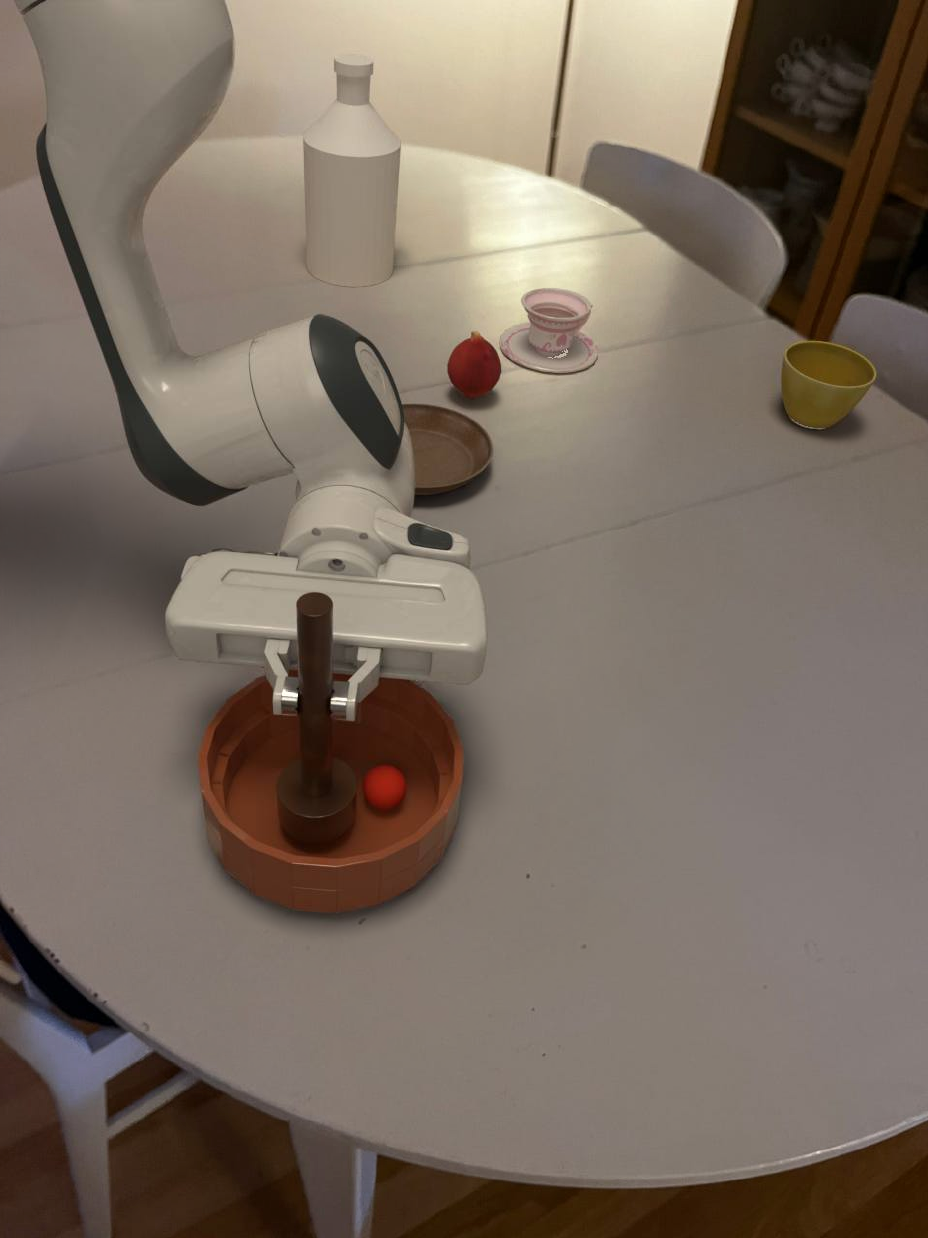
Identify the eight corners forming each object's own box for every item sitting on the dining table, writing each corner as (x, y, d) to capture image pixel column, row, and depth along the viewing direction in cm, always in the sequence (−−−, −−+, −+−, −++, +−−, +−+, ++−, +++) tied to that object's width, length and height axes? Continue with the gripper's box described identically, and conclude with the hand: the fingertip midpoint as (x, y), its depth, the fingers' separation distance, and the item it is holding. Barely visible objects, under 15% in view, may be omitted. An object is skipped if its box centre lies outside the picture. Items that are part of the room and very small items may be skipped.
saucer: (349, 510, 96) (350, 486, 94) (339, 425, 107) (339, 402, 105) (502, 507, 99) (505, 484, 97) (477, 424, 110) (479, 402, 108)
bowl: (179, 907, 65) (169, 853, 60) (233, 706, 77) (228, 650, 73) (449, 929, 65) (457, 877, 61) (459, 726, 78) (467, 672, 74)
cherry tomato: (359, 816, 70) (360, 789, 68) (364, 781, 72) (365, 754, 70) (403, 819, 70) (405, 793, 68) (406, 785, 72) (409, 758, 70)
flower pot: (857, 450, 113) (881, 393, 108) (766, 433, 114) (785, 376, 109) (850, 405, 120) (872, 350, 116) (764, 389, 121) (783, 333, 116)
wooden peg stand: (271, 839, 66) (258, 632, 54) (284, 776, 70) (274, 568, 57) (351, 846, 67) (356, 640, 54) (359, 782, 70) (367, 577, 58)
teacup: (526, 381, 117) (533, 331, 113) (482, 332, 125) (488, 284, 121) (615, 367, 122) (626, 319, 117) (568, 321, 129) (576, 274, 125)
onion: (491, 384, 116) (499, 319, 111) (501, 411, 112) (510, 345, 106) (441, 384, 115) (447, 318, 110) (449, 412, 111) (455, 345, 105)
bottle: (309, 287, 129) (307, 72, 112) (300, 248, 138) (297, 42, 121) (401, 287, 132) (412, 77, 115) (387, 248, 140) (396, 47, 123)
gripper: (187, 511, 68) (130, 658, 58) (492, 539, 69) (488, 689, 59) (195, 582, 72) (143, 731, 62) (482, 608, 73) (477, 759, 63)
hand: (314, 711), depth 60 cm, fingers closed on wooden peg stand
